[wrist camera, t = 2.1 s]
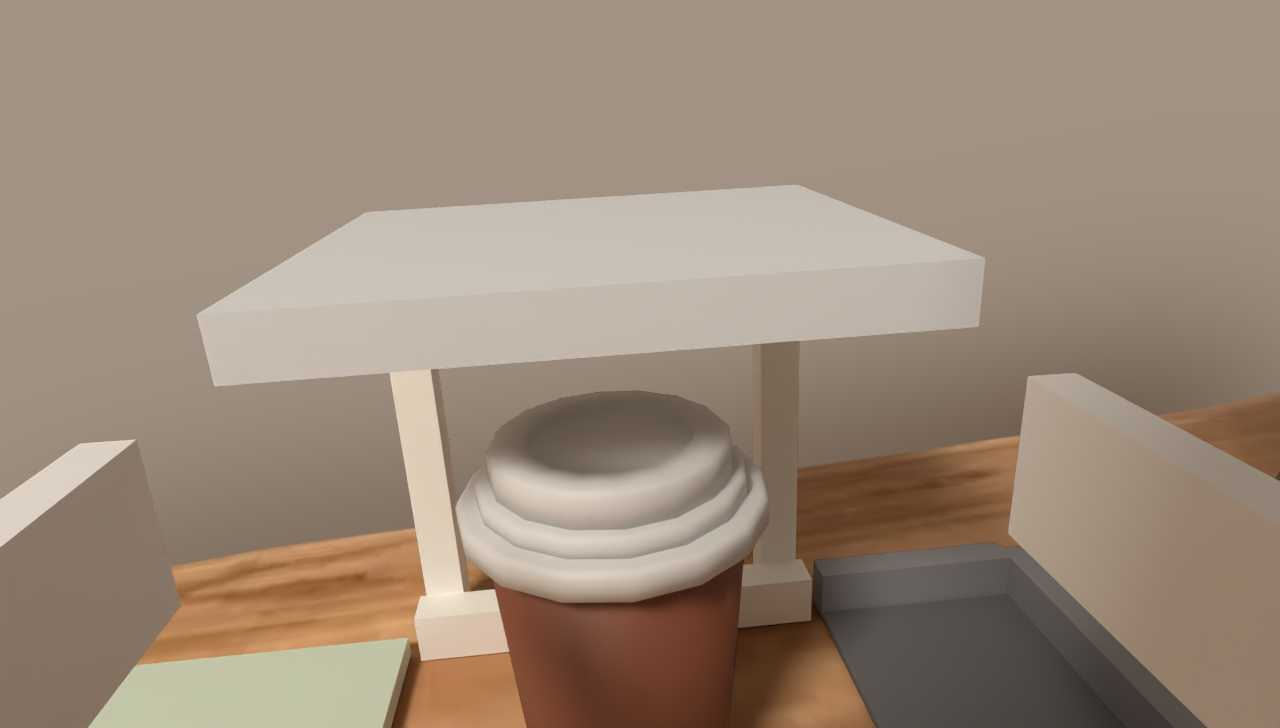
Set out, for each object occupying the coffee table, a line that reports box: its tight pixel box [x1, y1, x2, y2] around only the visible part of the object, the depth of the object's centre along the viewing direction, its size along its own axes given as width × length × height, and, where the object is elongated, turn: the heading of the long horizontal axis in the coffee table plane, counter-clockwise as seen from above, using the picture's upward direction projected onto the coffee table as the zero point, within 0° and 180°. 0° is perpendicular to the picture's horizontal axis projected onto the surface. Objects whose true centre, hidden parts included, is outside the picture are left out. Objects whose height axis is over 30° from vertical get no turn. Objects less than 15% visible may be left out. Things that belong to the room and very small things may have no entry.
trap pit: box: [813, 542, 1207, 728], centre depth 27 cm, size 9×15×2 cm, turn 5°
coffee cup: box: [455, 391, 769, 728], centre depth 24 cm, size 9×9×12 cm
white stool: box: [197, 185, 985, 661], centre depth 24 cm, size 16×16×18 cm
